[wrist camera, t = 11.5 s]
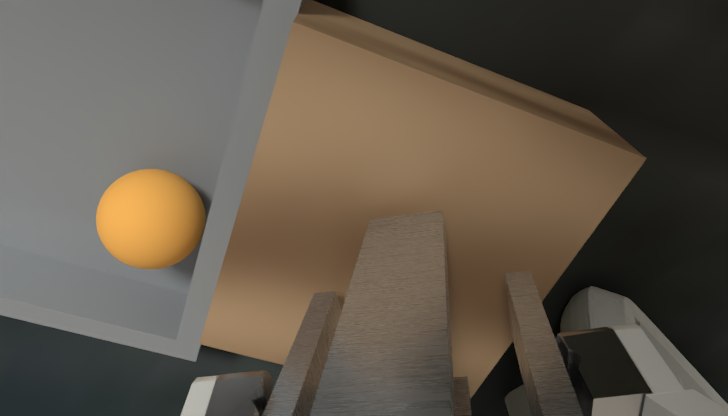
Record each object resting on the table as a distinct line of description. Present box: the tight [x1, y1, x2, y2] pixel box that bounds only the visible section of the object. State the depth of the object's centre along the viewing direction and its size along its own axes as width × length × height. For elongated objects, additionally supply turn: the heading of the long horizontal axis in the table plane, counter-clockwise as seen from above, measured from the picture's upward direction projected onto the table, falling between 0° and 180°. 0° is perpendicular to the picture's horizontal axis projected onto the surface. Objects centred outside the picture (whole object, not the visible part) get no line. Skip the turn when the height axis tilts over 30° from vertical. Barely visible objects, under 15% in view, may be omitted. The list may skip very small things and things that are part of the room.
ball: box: [96, 169, 206, 269], centre depth 15 cm, size 3×3×3 cm
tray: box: [0, 0, 306, 362], centre depth 13 cm, size 14×12×2 cm
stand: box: [199, 0, 647, 399], centre depth 15 cm, size 10×9×4 cm
